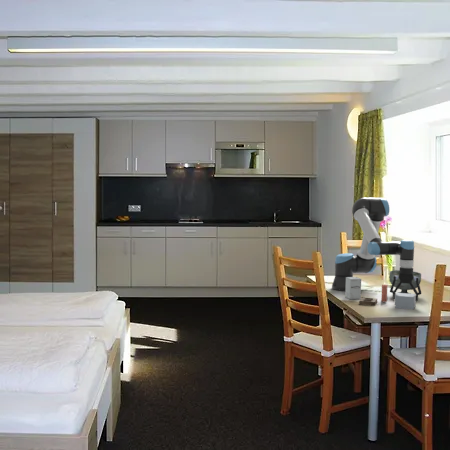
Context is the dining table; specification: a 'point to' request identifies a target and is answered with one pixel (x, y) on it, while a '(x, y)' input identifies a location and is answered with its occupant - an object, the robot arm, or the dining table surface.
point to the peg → (384, 293)
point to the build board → (368, 301)
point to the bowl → (404, 286)
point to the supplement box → (353, 288)
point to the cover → (404, 301)
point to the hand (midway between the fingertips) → (405, 305)
